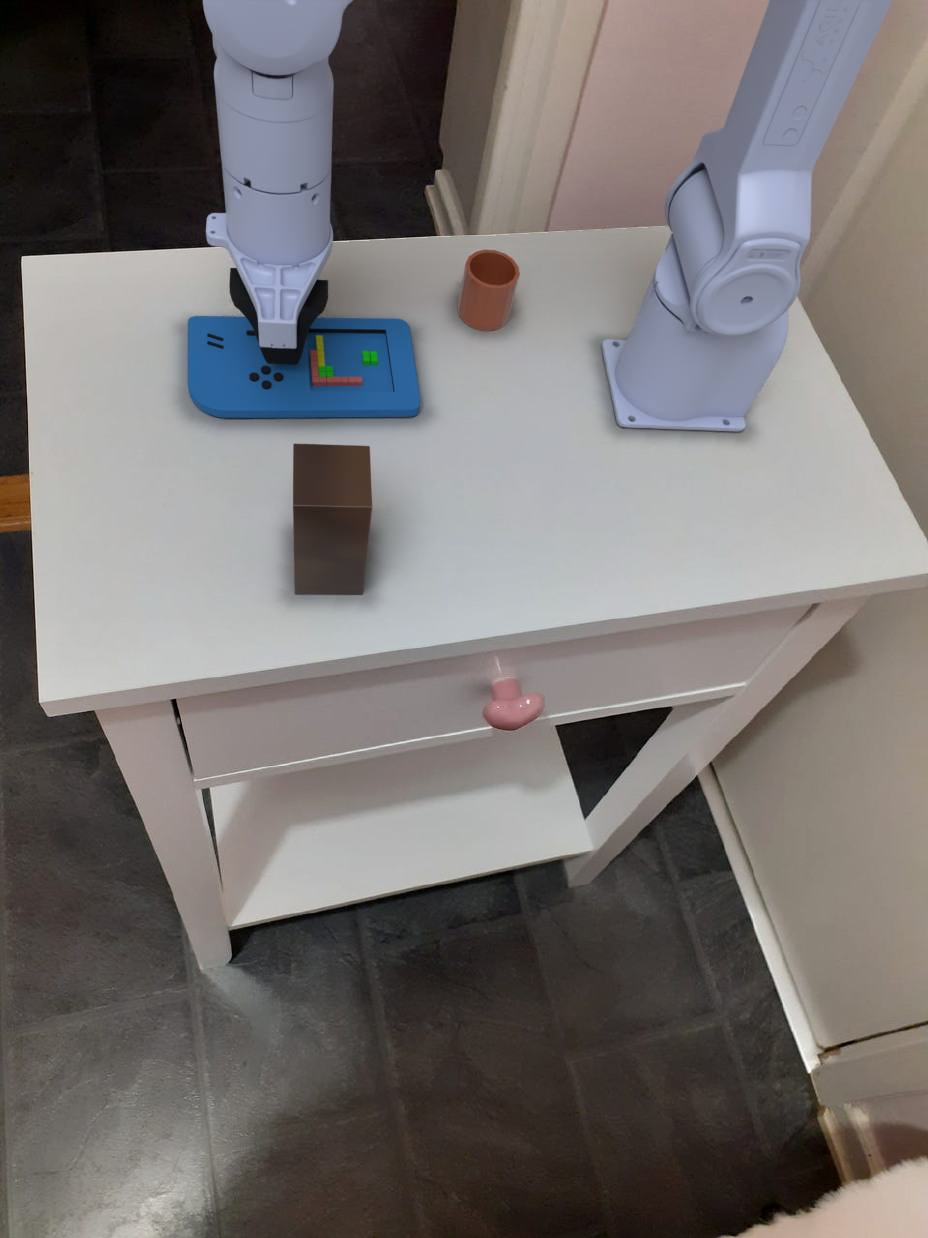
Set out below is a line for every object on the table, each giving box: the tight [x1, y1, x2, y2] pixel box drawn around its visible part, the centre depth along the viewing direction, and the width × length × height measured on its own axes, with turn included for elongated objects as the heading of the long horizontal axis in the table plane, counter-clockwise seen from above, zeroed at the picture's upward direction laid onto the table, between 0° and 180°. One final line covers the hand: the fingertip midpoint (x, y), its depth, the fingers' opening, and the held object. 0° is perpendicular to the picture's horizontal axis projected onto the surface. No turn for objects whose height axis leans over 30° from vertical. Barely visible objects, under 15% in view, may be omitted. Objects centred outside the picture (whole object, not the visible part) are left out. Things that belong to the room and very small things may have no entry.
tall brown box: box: [292, 443, 373, 596], centre depth 52 cm, size 4×4×9 cm
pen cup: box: [457, 249, 521, 332], centre depth 66 cm, size 4×4×4 cm
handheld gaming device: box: [187, 315, 422, 419], centre depth 62 cm, size 8×1×15 cm
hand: (282, 347), depth 60 cm, fingers closed
